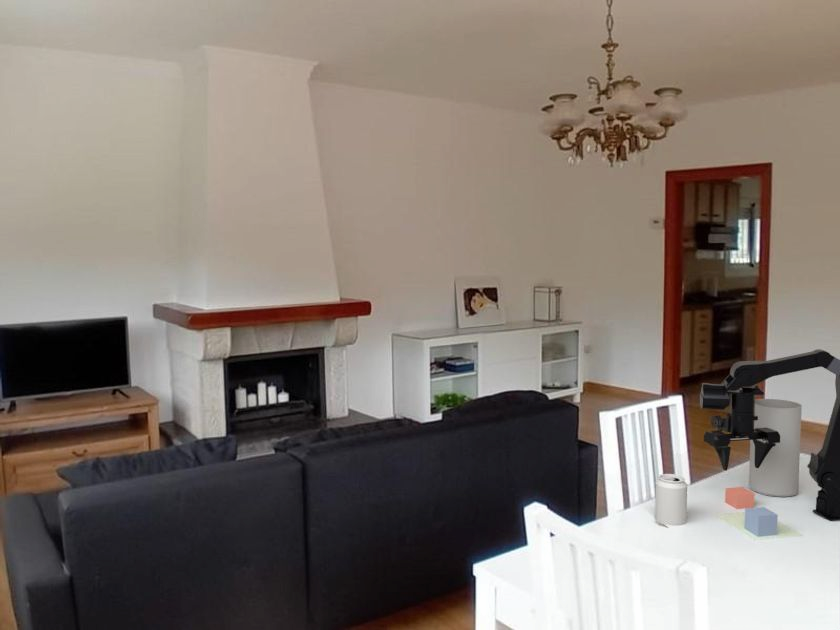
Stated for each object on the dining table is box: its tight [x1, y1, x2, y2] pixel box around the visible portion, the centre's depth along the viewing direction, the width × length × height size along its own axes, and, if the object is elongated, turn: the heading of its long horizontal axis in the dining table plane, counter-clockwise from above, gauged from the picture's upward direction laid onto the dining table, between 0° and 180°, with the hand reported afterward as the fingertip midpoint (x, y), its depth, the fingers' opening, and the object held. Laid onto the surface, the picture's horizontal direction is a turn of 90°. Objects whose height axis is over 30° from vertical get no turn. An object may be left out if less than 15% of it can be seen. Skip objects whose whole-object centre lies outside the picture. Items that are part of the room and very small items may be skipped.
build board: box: [714, 511, 805, 541], centre depth 171 cm, size 13×16×1 cm
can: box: [654, 473, 688, 529], centre depth 174 cm, size 8×8×12 cm
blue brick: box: [744, 506, 779, 537], centre depth 166 cm, size 5×5×5 cm
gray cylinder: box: [748, 398, 803, 498], centre depth 197 cm, size 12×12×25 cm
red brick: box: [724, 486, 756, 510], centre depth 184 cm, size 5×5×5 cm
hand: (741, 468), depth 183 cm, fingers open, 9 cm apart
